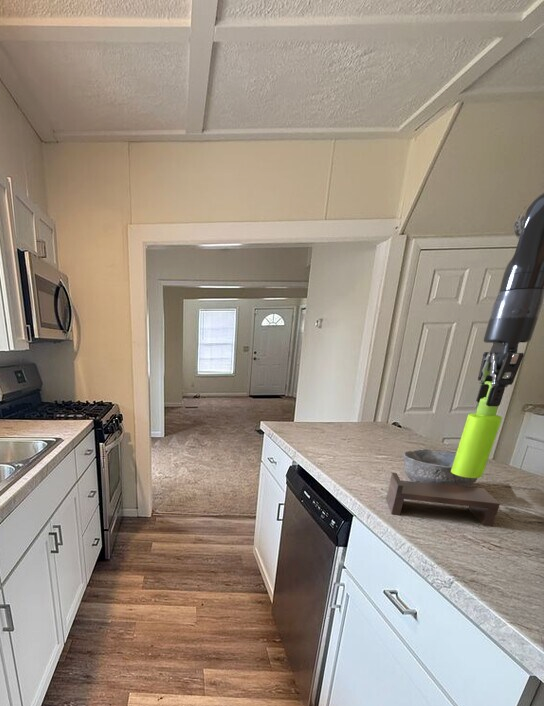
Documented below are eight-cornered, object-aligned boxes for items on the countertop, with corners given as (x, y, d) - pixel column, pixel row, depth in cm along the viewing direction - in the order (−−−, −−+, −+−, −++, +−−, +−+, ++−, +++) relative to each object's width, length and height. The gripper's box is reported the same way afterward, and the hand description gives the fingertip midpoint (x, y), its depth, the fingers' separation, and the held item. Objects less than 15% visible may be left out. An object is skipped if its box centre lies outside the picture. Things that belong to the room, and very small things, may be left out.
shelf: (476, 509, 108) (486, 481, 105) (492, 526, 98) (502, 495, 95) (385, 499, 116) (391, 472, 113) (391, 514, 106) (398, 485, 102)
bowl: (479, 506, 110) (490, 471, 107) (394, 493, 120) (402, 460, 117) (472, 485, 127) (482, 454, 123) (398, 475, 137) (405, 446, 133)
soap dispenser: (477, 469, 94) (507, 380, 85) (485, 479, 88) (518, 385, 79) (447, 466, 96) (474, 379, 87) (453, 476, 90) (482, 383, 81)
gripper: (555, 313, 72) (523, 409, 78) (521, 318, 84) (495, 401, 91) (504, 314, 74) (477, 408, 81) (478, 319, 87) (456, 399, 93)
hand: (487, 403), depth 86 cm, fingers closed on soap dispenser, 5 cm apart
